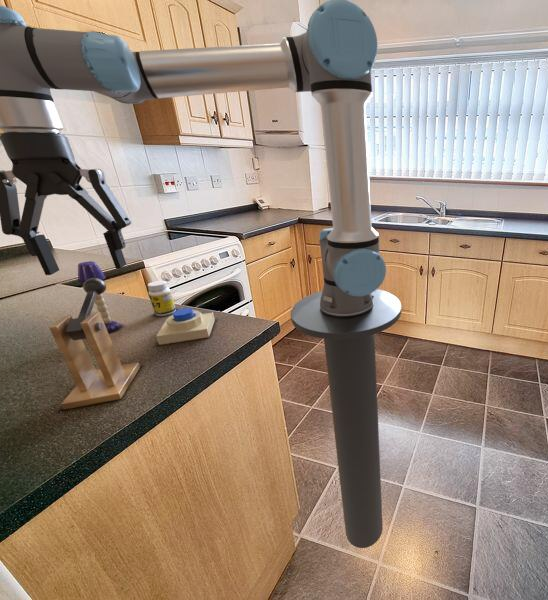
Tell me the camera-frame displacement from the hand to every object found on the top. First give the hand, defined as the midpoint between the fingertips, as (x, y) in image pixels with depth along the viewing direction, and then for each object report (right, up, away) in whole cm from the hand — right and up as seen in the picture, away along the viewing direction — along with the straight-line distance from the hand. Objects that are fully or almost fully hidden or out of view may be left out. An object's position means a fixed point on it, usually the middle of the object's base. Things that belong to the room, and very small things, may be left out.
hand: (87, 269), depth 61 cm
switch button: (+7, -10, +17) cm, 21 cm away
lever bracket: (+3, -21, 0) cm, 22 cm away
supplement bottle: (-6, -9, +28) cm, 30 cm away
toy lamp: (-13, -13, +20) cm, 27 cm away
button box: (+7, -13, +19) cm, 24 cm away
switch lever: (+1, -8, 0) cm, 8 cm away
